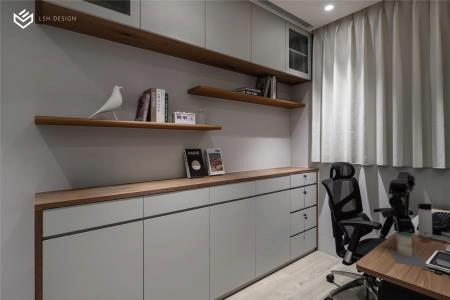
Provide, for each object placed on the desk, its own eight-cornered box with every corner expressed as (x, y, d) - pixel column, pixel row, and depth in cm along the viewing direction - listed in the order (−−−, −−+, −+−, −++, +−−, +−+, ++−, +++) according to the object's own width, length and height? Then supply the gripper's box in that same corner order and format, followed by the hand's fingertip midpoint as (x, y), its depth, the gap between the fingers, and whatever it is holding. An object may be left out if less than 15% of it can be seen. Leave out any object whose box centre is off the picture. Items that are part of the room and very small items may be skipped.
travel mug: (427, 239, 139) (427, 204, 140) (416, 235, 146) (415, 202, 146) (435, 237, 141) (434, 203, 141) (423, 234, 147) (422, 201, 148)
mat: (388, 250, 125) (388, 249, 125) (417, 254, 120) (417, 253, 120) (396, 264, 110) (396, 263, 110) (429, 269, 105) (429, 267, 105)
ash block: (397, 251, 123) (396, 231, 123) (408, 252, 121) (408, 232, 121) (399, 254, 118) (399, 234, 119) (412, 256, 116) (411, 235, 116)
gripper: (378, 199, 138) (378, 227, 138) (385, 207, 121) (385, 238, 121) (401, 201, 134) (402, 229, 134) (412, 208, 116) (413, 241, 116)
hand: (400, 233), depth 126 cm, fingers closed
